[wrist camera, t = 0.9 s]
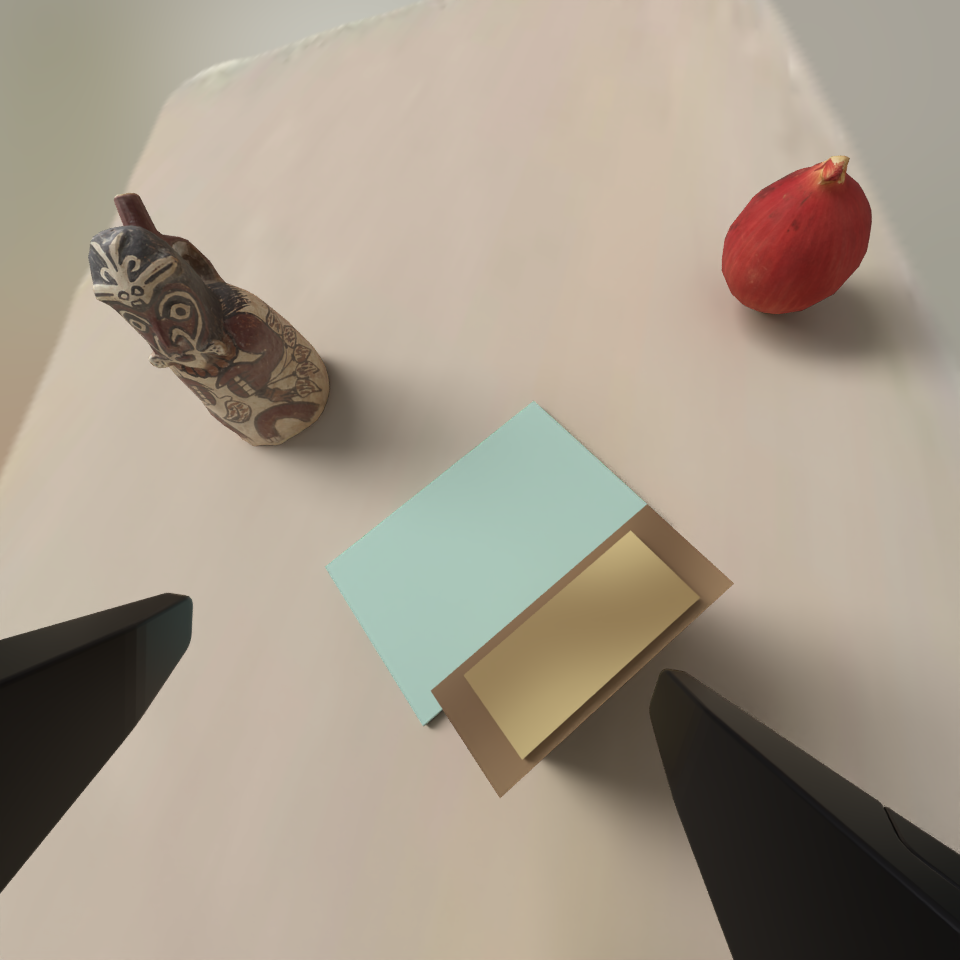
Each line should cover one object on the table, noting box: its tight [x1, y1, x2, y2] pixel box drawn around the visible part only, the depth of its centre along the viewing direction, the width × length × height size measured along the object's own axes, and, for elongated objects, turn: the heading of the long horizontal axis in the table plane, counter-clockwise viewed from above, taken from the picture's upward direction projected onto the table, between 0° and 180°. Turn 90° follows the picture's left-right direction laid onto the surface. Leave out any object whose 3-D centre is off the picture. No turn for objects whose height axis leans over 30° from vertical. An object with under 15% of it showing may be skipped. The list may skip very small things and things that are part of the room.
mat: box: [325, 401, 647, 726], centre depth 22 cm, size 9×14×1 cm, turn 129°
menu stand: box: [431, 505, 734, 798], centre depth 16 cm, size 3×8×9 cm, turn 129°
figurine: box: [88, 193, 330, 446], centre depth 24 cm, size 7×7×12 cm
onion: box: [722, 156, 872, 314], centre depth 22 cm, size 6×6×8 cm
